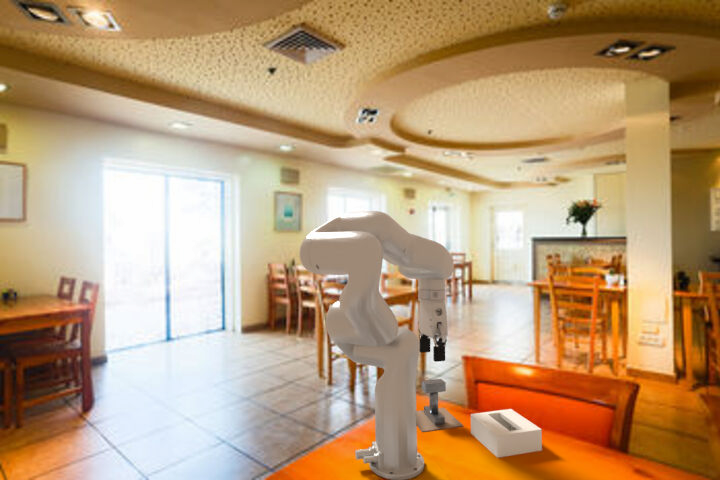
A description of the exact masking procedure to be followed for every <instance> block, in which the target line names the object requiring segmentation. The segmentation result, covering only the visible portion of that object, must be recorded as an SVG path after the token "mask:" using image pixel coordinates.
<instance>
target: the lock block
mask: <svg viewBox="0 0 720 480" xmlns="http://www.w3.org/2000/svg"><path fill="white" fill-rule="evenodd" d="M542 433H543V432H542V428H540V427H539V426H537V425H536V424H534V423H533V422H531V421H530V420H528V419H527V418H525V417H524V416H522V415H521V414H519V413H518V412H517V411H515V410H514V409H512V408H508V409H507V408H505V409H499V410H492V411H491V410H490V411H484V412H477V413H476V412H475V413H470V434H471V435H472V436H473V437H474V438H476V440H478V442H480V443H481V444H482V445H483V446H484V447H485V448H486V449H487V450H488V451H490V453H491V454H493V455H494V456H495V457H496V458H505V457H509V456H516V455H522V454H528V453H534V452H541V451H543V444H542V443H543V441H542V440H543V439H542V438H543V435H542Z"/></svg>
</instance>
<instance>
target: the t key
mask: <svg viewBox="0 0 720 480" xmlns="http://www.w3.org/2000/svg"><path fill="white" fill-rule="evenodd" d="M421 390H422V392H424V393H425V394H429V398H428V400H429V405H425V406H423V410H424V414H425V415H426V416H427V417H428V418H429V419H430V420H431V422H432V423H433V424H434V425H435V426H437V425H445V417H444V416H443V415H442V414H441V413H440V412H439V411H438V408H439V393H441V392H446V391H447V389H446V381H445V380H443V379H442V378H438V379H437V378H436V379H425V380H421Z"/></svg>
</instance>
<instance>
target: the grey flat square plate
mask: <svg viewBox="0 0 720 480" xmlns="http://www.w3.org/2000/svg"><path fill="white" fill-rule="evenodd" d="M438 411H439V412H440V413H441V414H442V415H443V416H444V417H445V425H437V426H435V425H434V424H433V423H432V422H431V420H430V419H429V418H428V417H427V416H426V415H425V414H424V409H422V410H416V420H417V428H418V429H419V430H420V432H421V433H424V432H425V433H427V432H432V431H441V430H447V429H455V428H462V427H464V424H463V423H462V422H460V421H459V420H458V419H457V418H456V417H455V416H454V415H453V414H452V413H450V412H449V411H448V410H447V409H446V408H445V407H438Z"/></svg>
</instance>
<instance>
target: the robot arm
mask: <svg viewBox="0 0 720 480" xmlns="http://www.w3.org/2000/svg"><path fill="white" fill-rule="evenodd" d="M299 260H300V264H301V265H302V266H303V268H305V270H306V271H308V272H309V273H312V274H315V275H325V276H326V275H327V276H328V275H329V276H330V275H331V276H348V278H347V281H346V284H345V286H344V287H343V289H342V291H341V293H340V296H339V298H338V299H339V300H337V301H335V302H334V303H332V304H331V306H330V307H329V309H328V311H327V312H326V313H327V314H326V318H325V326H326V332H327V334H328V337H329V338H330V340H331V341H332V343H334V345H335V346H336V347H337V348H338V349H340V350H341V352H342V353H343V354H344V355H345V356H346V357H347V358H348V359H350V360H351V361H352V362H353V363H356V364H361V365H365V366H370V367H377V368H380V369H382V370H383V373H382V375H381V376H380V377H379V379H378V380H377V381H376V383H375V386H374V423H375V424H374V426H375V429H374V431H375V432H374V434H375V441H371V446H369V447H368V448H364V449H355V452H354V454H355V455H354V456H355V459H356V460H363V464H368V465H369V469H371V471H372V472H373V474H376V475H377V476H378V477H382V478H384V479H387V480H410V479H412V478H415V477H417V476H418V475H420V474H421V473H422V472H423V470H424V468H425V460H424V457H423V456H422V454H421V453H420V452H418V437H417V436H418V433H417V431H418V430H417V428H418V426H417V420H416V411H417V371H418V364H419V363H418V362H419V356H420V353H421V354H422V353H424V354H425V353H430V352H431V339H432V341H433V344H434V346H432V347H433V348H432V349H433V351H432V352H433V362H436V363H437V362H445V361H446V347H447V340H448V339H447V338H448V333H449V332H448V331H449V329H448V315H447V306H446V280H447V279H449V278H451V276H452V275H453V272H454V268H455V263H454V259H453V256H452V254H451V253H450V252H449V250H448V249H447V248H446V247H445V246H444V245H442V244H441V243H439V242H437V241H434V240H432V239H429V238H426V237H423V236H420V235H417V234H414V233H410V232H408V230H406V229H405V228H404V227H402V225H400V224H399V223H398V222H397V221H396V220H395V219H394V218H392V217H391V216H390V215H389V214H387V213H386V212H383V211H378V210H371V211H353V212H345V213H341V214H339V215H336V216H335V217H333V218H331V219H329V220H328V221H327V222H325V223H323V224H322V225H320V226H318V227H317V228H315V229H314V230H311V231H310V233H308V234H307V235H306V236H305V237H304V239H303V240H302V242H301V244H300V248H299ZM383 260H384V261H385V262H387V263H389V264H391V265H392V266H393V265H394V266H397V267H398V270H399V272H400V274H401V275H402V276H403V277H404V278H407V279H412V280H418V281H417V291H418V292H417V293H418V294H417V297H418V299H417V300H418V301H419V309H418V321H417V325H418V332H419V334H418V336H417V334H416V333H415V332H413V331H412V330H410V329H409V328H405V327H401V326H399V323H398V318H397V317H396V316H395V314H394V311H393V310H392V309H391V307H390V305H389V304H388V303H387V302H386V300H385V299H384V297H383V296H382V294H381V292H380V284H381V283H380V281H381V276H382V275H381V274H382V269H383V268H382V267H383Z"/></svg>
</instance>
